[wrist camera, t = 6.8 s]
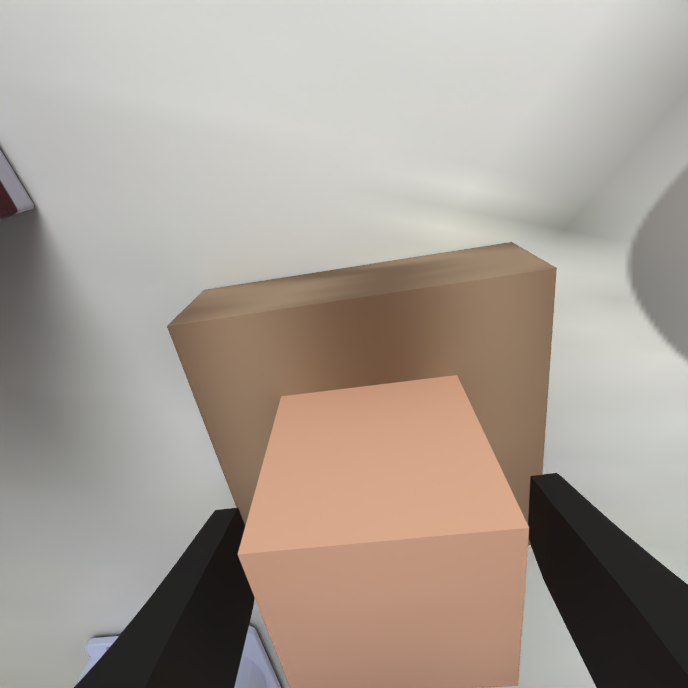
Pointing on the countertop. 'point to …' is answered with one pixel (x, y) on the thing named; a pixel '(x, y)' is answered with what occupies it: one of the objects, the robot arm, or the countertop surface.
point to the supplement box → (11, 192)
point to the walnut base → (376, 349)
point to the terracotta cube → (387, 541)
